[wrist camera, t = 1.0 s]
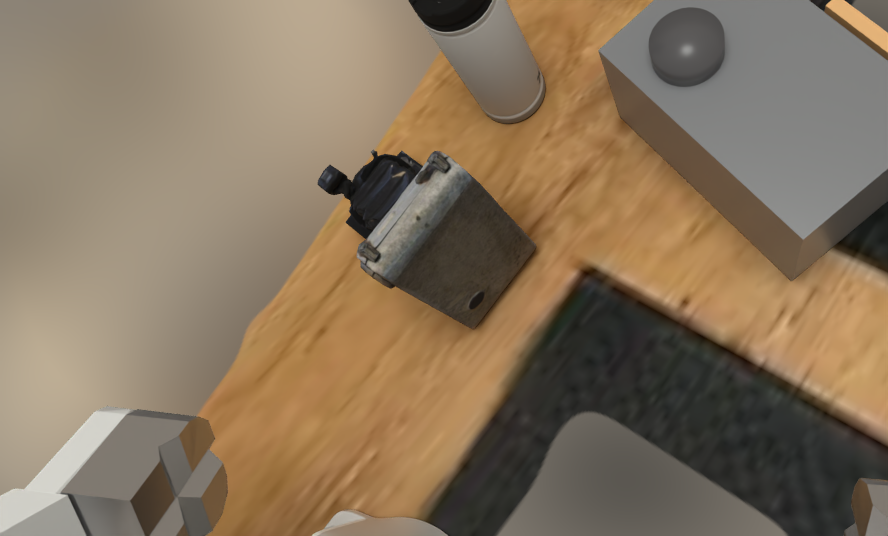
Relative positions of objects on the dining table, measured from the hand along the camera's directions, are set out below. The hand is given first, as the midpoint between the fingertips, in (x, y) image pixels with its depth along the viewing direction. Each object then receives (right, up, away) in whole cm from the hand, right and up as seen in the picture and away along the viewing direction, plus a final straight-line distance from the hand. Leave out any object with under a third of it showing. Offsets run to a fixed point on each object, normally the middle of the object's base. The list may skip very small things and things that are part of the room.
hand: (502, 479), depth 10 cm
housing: (+25, +13, +55) cm, 62 cm away
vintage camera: (-1, +5, +63) cm, 63 cm away
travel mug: (+6, +19, +64) cm, 67 cm away
